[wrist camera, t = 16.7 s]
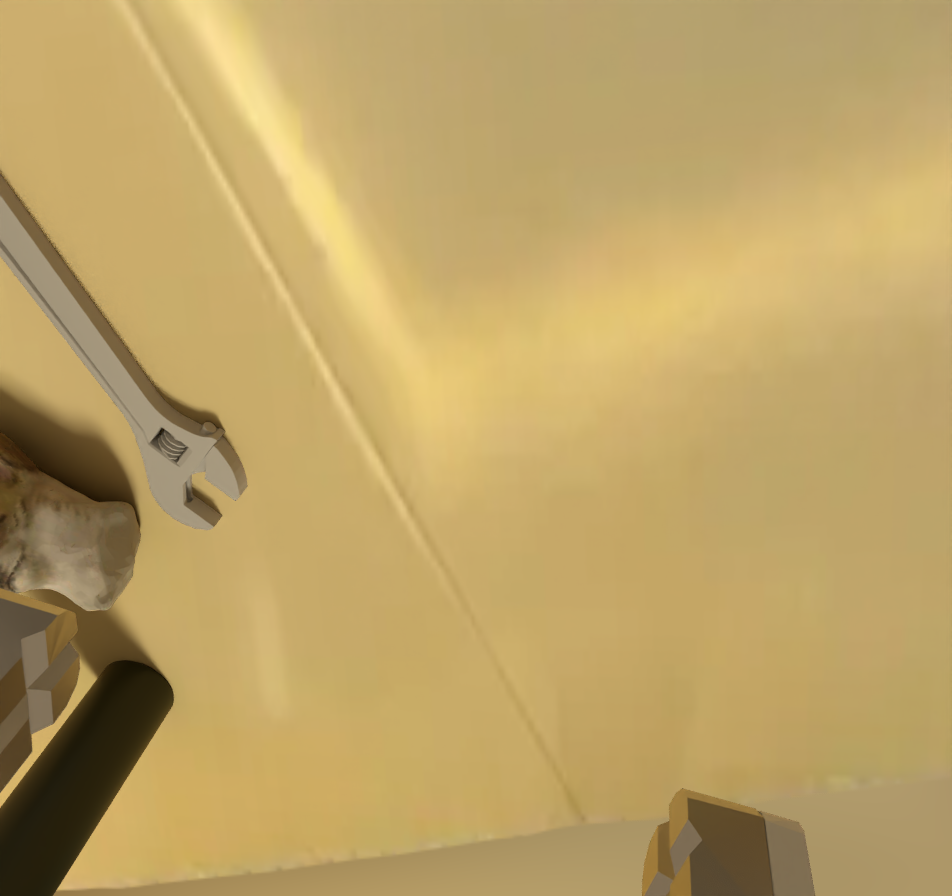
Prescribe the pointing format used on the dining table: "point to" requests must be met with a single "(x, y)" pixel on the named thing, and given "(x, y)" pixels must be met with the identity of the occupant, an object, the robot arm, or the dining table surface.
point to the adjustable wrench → (121, 376)
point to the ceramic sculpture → (61, 536)
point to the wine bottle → (78, 778)
